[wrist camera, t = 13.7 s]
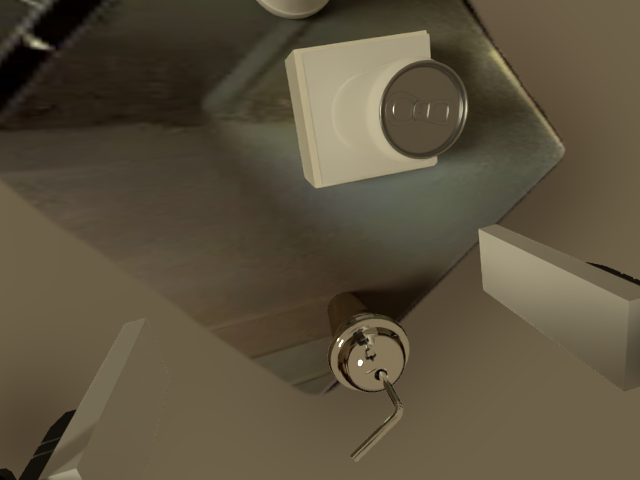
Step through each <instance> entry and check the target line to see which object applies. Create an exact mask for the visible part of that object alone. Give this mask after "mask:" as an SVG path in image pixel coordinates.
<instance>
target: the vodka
mask: <svg viewBox="0 0 640 480" xmlns="http://www.w3.org/2000/svg"><path fill="white" fill-rule="evenodd" d="M256 1H257V2H258V3H259V4H260V5H261V6H262V7H264V8H265V9H266V10H268V11H269V12H271V13H272V14H274V15H276V16H279V17H282V18H287V19H301V18H305V17H309V16H311V15H313V14H315V13H317V12H318V11H320V10H321V9H322V8H323V7H324V6H325V5H326V4H327V3H328V1H329V0H256Z"/></svg>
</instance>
